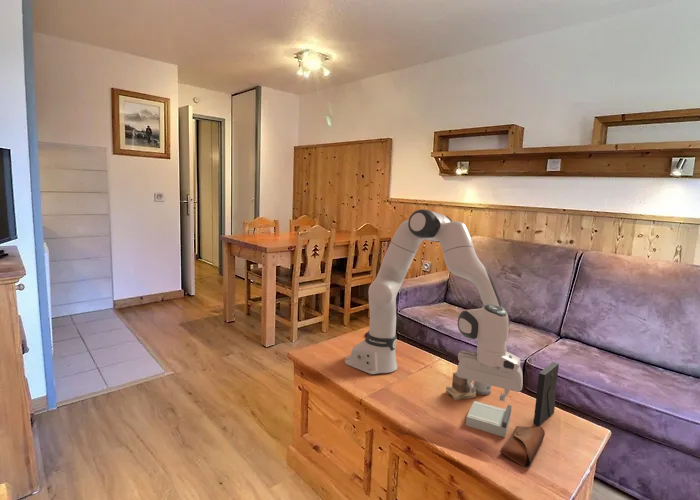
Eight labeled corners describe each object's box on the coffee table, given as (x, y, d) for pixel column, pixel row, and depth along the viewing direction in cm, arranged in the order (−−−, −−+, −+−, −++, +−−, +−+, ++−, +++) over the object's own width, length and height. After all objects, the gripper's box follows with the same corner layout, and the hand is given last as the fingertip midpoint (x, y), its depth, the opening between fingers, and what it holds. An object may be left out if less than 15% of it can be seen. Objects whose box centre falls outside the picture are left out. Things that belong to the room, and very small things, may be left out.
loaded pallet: (454, 400, 143) (456, 379, 142) (445, 392, 149) (447, 372, 148) (475, 397, 146) (477, 377, 145) (466, 389, 152) (467, 370, 151)
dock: (465, 425, 127) (466, 411, 127) (473, 408, 138) (474, 395, 137) (505, 437, 122) (506, 422, 121) (510, 419, 132) (511, 405, 131)
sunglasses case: (515, 424, 126) (530, 413, 123) (533, 443, 124) (548, 432, 120) (498, 451, 112) (514, 440, 109) (517, 474, 109) (534, 463, 106)
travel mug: (492, 396, 147) (497, 345, 144) (474, 394, 148) (478, 343, 146) (490, 388, 153) (494, 339, 150) (472, 386, 154) (476, 337, 152)
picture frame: (547, 409, 139) (553, 361, 137) (554, 412, 137) (560, 364, 135) (533, 423, 130) (538, 372, 127) (540, 426, 128) (546, 375, 126)
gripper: (456, 351, 129) (453, 391, 131) (523, 366, 119) (519, 409, 121) (460, 345, 135) (457, 383, 137) (525, 359, 125) (521, 400, 127)
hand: (487, 396), depth 129 cm, fingers open, 8 cm apart
